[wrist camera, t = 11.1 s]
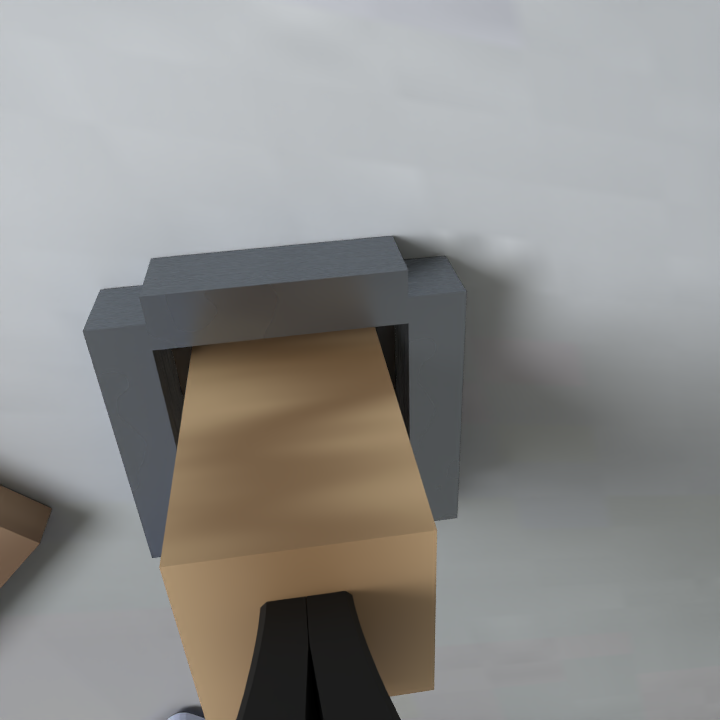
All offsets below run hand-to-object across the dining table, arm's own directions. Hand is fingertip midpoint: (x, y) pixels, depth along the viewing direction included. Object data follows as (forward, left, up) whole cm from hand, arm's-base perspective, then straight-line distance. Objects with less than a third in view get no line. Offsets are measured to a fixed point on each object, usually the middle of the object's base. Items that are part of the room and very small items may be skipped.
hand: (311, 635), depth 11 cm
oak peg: (0, 0, -7) cm, 7 cm away
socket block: (0, 0, -7) cm, 7 cm away
